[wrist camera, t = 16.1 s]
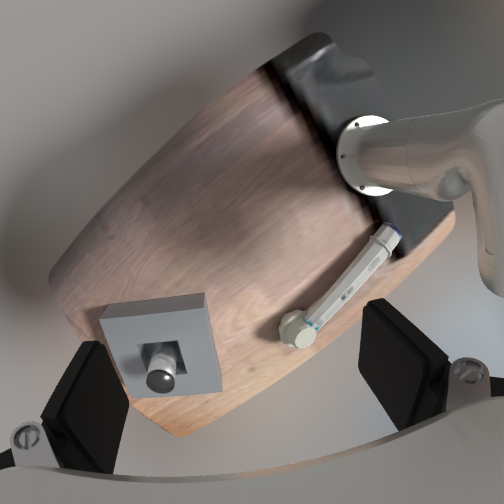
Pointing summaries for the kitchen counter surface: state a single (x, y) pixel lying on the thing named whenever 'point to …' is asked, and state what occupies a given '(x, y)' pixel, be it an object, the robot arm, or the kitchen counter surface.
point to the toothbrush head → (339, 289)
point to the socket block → (161, 330)
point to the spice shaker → (162, 367)
